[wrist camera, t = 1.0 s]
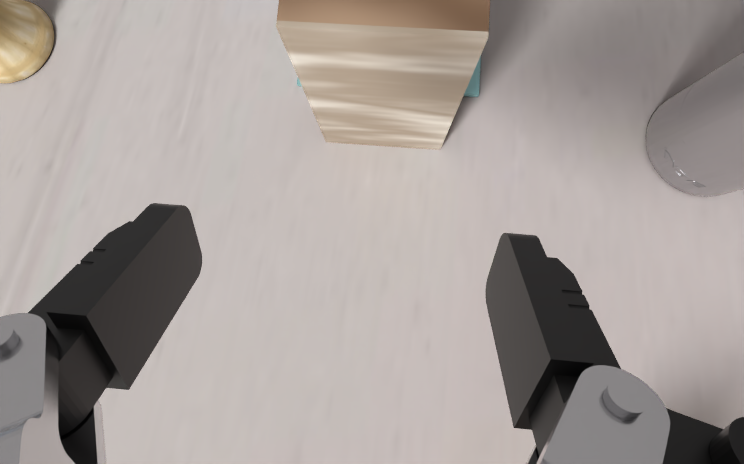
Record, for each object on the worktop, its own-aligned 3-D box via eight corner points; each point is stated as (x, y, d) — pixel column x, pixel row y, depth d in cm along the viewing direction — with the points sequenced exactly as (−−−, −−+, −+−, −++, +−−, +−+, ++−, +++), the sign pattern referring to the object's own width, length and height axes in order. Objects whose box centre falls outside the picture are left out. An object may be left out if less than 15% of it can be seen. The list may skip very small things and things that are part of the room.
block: (330, 98, 35) (284, -50, 19) (442, 105, 35) (492, -41, 19) (326, 142, 35) (276, 26, 19) (440, 149, 34) (488, 37, 18)
